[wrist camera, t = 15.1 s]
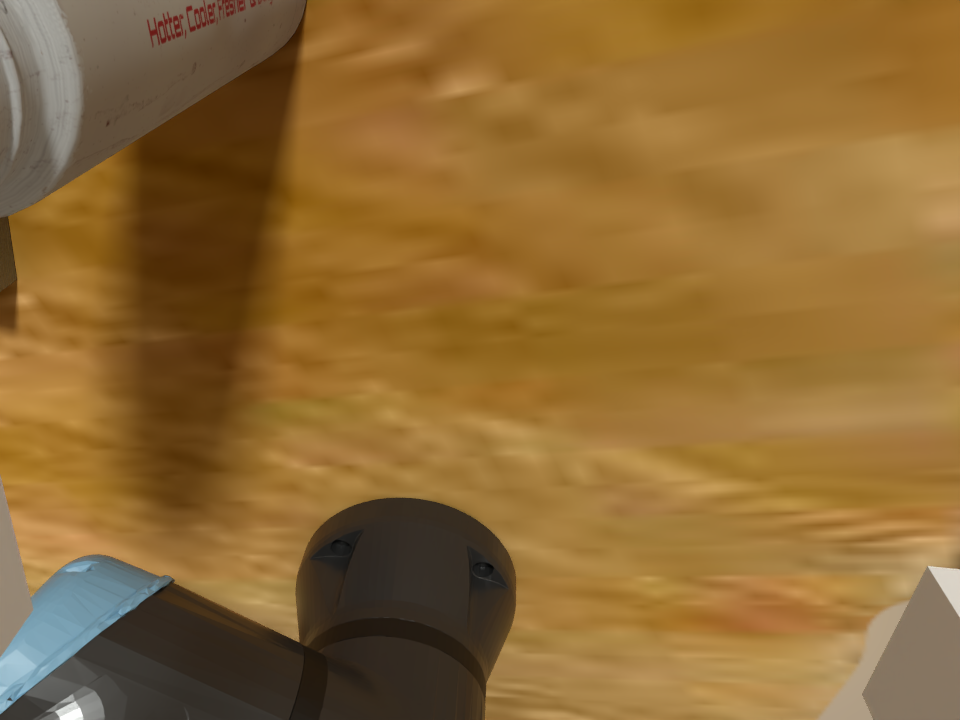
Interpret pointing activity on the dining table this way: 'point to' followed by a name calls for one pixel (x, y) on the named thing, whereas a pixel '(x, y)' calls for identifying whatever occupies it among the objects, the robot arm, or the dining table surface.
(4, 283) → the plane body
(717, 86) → the dining table surface
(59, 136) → the thermos bottle
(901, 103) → the dining table surface
